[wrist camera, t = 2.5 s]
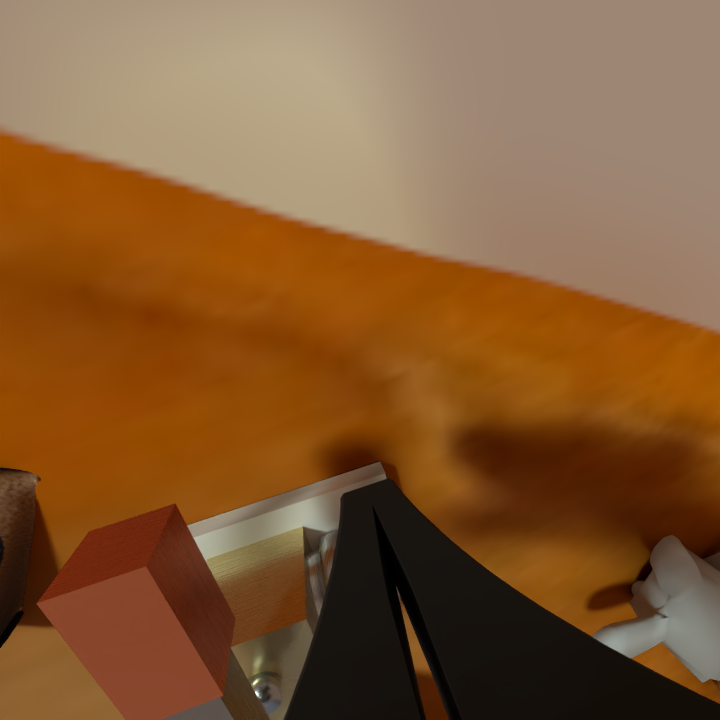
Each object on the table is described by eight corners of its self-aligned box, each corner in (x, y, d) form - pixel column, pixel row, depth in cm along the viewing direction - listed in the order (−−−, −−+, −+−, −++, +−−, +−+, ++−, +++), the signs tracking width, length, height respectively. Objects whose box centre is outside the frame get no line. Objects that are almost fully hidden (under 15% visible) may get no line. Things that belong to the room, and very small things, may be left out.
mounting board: (380, 461, 17) (385, 473, 16) (409, 566, 19) (415, 582, 19) (106, 552, 16) (94, 570, 15) (170, 653, 18) (164, 675, 17)
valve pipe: (369, 495, 17) (402, 601, 12) (389, 562, 18) (426, 683, 13) (137, 574, 16) (62, 728, 11) (177, 639, 17) (128, 802, 12)
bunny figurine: (764, 702, 23) (628, 723, 17) (678, 623, 28) (548, 620, 22) (862, 589, 21) (745, 571, 15) (751, 525, 26) (630, 493, 20)
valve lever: (308, 744, 12) (311, 827, 10) (236, 773, 12) (227, 863, 10) (183, 500, 8) (156, 562, 7) (80, 534, 8) (25, 607, 7)
